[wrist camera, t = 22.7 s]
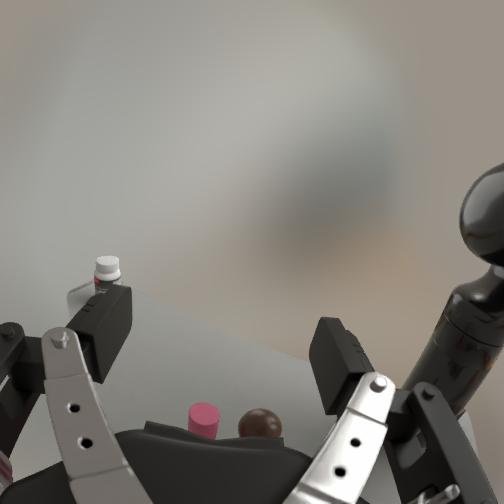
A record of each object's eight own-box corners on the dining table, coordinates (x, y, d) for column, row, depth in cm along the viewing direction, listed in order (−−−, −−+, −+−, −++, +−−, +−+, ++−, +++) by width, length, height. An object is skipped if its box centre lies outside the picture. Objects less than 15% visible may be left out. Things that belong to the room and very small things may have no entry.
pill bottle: (91, 305, 43) (87, 261, 40) (105, 294, 47) (104, 252, 45) (112, 313, 42) (110, 268, 40) (126, 301, 47) (125, 258, 44)
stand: (267, 449, 25) (300, 373, 21) (286, 509, 18) (340, 453, 14) (192, 453, 23) (198, 375, 19) (201, 518, 16) (210, 471, 12)
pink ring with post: (275, 448, 24) (308, 380, 21) (282, 515, 16) (331, 468, 13) (191, 441, 23) (196, 369, 20) (182, 510, 16) (181, 463, 12)
